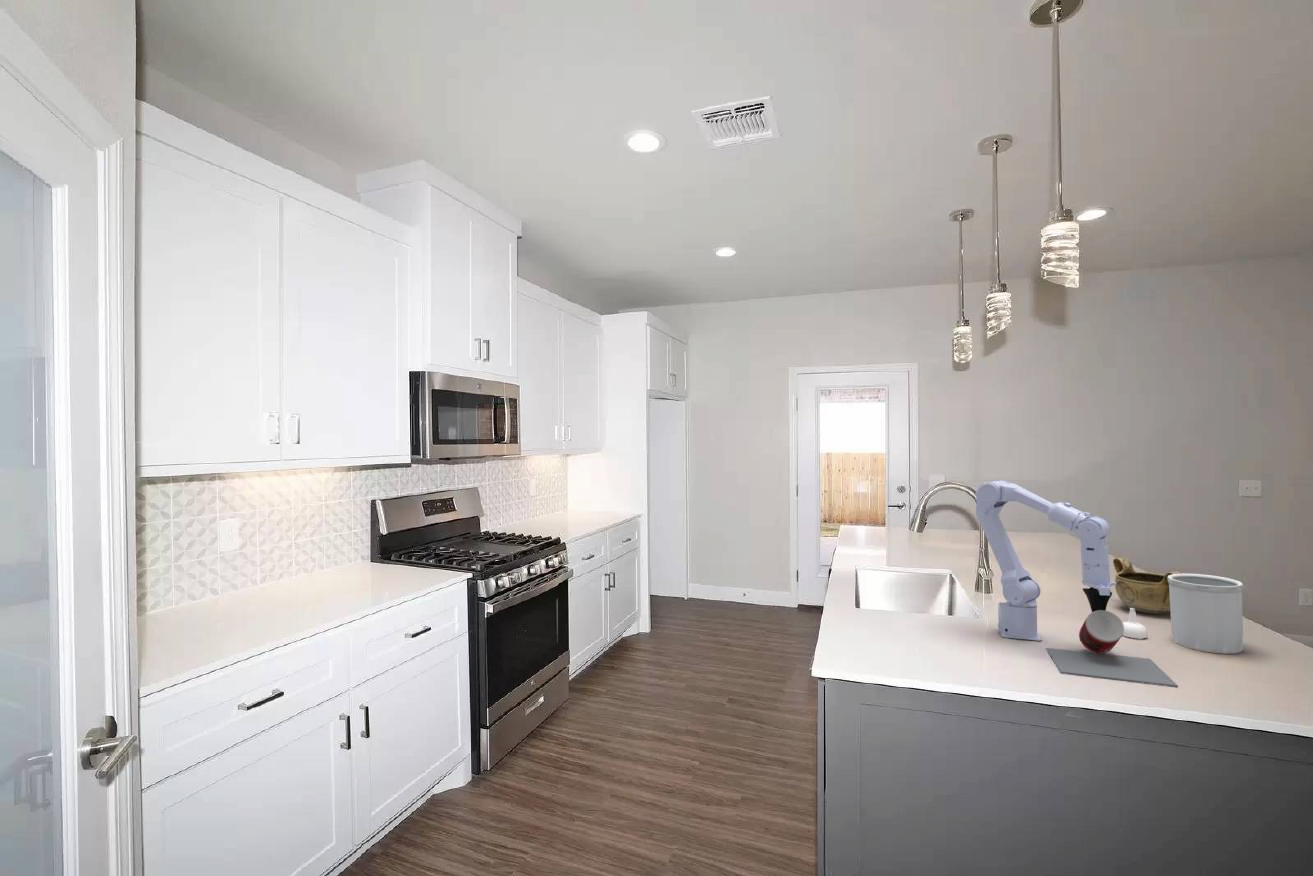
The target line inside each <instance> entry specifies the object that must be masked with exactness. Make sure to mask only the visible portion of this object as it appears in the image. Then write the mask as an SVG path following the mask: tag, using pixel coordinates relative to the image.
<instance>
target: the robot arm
mask: <svg viewBox="0 0 1313 876" xmlns="http://www.w3.org/2000/svg"><path fill="white" fill-rule="evenodd" d="M974 494H975V497H976V506H975V507H976V508H975V515H976V517H977V520H978V522H979V524H980V527H981V529H982V532H983V533H984V535H985V537H986V539H987V542H988V544H989V547H990V548H991V550H992V553H993V555H994V557H995V559H996V562H997V564H998V566H999V569H1000V571H1001V572H1002V573H1001V577H1000V583H1001V585H1002V595H1003V598H1004V599H1005V600H1006V601H1005V602H998V607H997V608H998V609H997V611H998V612H997V614H998V620H997V621H998V622H997V627H998V631H999V634H1000V636H1001V637H1002V638H1007V639H1008V638H1009V639H1018V640H1027V641H1028V640H1029V641H1030V640H1031V641H1037V642H1041V641H1042V638H1041V636H1040V635H1039V633H1038V603H1037V599H1038V598H1039V597H1040V596H1041V587H1040V585H1039V583H1038V582H1037V581H1036V580H1035V579H1034V578H1033V577H1032V575H1031V574H1030V573H1031V572H1030V571H1028V570H1027V569H1026V568H1024V567H1023V566H1022V563H1021V562H1020V558H1019V557H1018V554H1017V553H1016V550H1015V548H1014V546H1013V543H1012V542H1011V539H1010V537H1009V536H1008V533H1007V531H1006V529H1005V526H1004V524H1003V522H1002V521H1001V520H1002V519H1001V518H1000V513H1001V511H1002V509H1003V507H1004V506H1005V505H1006V504H1007V503H1008V502H1018V503H1020V504H1022V505H1025V506H1027V507H1029V508H1031V509H1034V510H1037V511H1039V512H1041V513H1044V514H1046V516H1047V518H1048V520H1049V521H1050V522H1052V523H1054V524H1056V525H1058V526H1061V527H1062V528H1064V529H1067V530H1069V531H1070V532H1073V533H1075V534H1076V536H1077V537H1078V538H1079V539H1080V557H1081V571H1082V572H1081V573H1082V579H1081V584H1082V585H1083V586H1087V587H1089V588H1085V587H1084V588H1082V591H1083V592H1084V594H1085V596H1086V598H1087V600H1088V603H1089V606H1090V609H1091V613H1092V612H1094V611H1097V610H1105V611H1107V606H1108V604H1109V600H1110V599H1111V597H1112V595H1113V592H1112V591H1111V587H1112V586H1114V587H1115V585H1116V582H1115V581H1113V580H1112V581H1111V572H1110V571H1111V570H1110V558H1109V546H1108V537H1107V536H1109V534H1110V532H1111V526H1110V524H1109V522H1108V521H1107V520H1106V519H1104V518H1102V517H1101V516H1099V515H1094V516H1093V515H1092V516H1091V513H1090V512H1087V511H1086V512H1084V511H1082V510H1079V509H1076V508H1075V507H1072V504H1071V503H1069V502H1067V501H1066V502H1062V501H1061V502H1055V503H1053V502H1051V501H1049V500H1048V499H1047V500H1046V499H1045V498H1044V497H1041V496H1039V495H1037V494H1036V493H1033V492H1032V491H1030V490H1028V489H1025V488H1024V487H1021V486H1020V485H1018V484H1016V483H1013V482H1010V481H1008V480H1005V479H1000V480H994V481H984V482H982V483H980V484H979V486H978V488H977V490H976V491H975V493H974Z"/></svg>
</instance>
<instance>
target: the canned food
mask: <svg viewBox="0 0 1313 876" xmlns="http://www.w3.org/2000/svg"><path fill="white" fill-rule="evenodd" d="M1123 623H1124V622H1122V619H1121V618H1120V617H1119V616H1118V615H1116V614H1115V613H1113V612H1112V611H1109V610H1106V611H1105V610H1097V611H1094V612H1092V611H1091V612H1090V614H1088V615H1087V617H1086V618H1085V620H1084V622H1083V624H1082V625H1081V627H1080V630H1079V631H1078V637H1079V641H1080V642H1081V645H1082V646H1083V647H1084V648H1086V649H1087V650H1088V651H1090V652H1091V653H1101V654H1107V653H1108V652H1110V651H1112V649H1114V648H1115V646H1116V644H1117V643H1118V642H1119V641H1120V639H1121V638H1122V637H1123V636H1122V635H1123V632H1124V625H1123Z"/></svg>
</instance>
